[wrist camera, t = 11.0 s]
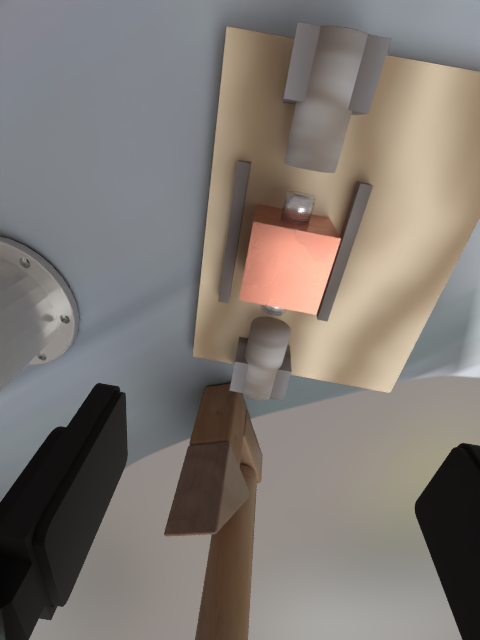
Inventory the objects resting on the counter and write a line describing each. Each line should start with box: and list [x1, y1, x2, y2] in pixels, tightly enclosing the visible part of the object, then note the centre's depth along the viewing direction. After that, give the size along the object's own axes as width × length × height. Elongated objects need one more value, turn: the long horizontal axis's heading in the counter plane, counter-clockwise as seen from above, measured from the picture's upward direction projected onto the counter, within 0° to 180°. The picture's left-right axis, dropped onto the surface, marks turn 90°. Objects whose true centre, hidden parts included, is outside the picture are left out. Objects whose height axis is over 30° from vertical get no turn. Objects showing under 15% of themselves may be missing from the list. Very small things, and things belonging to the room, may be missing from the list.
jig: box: [193, 22, 480, 400], centre depth 23 cm, size 18×23×5 cm
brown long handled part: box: [164, 383, 262, 640], centre depth 28 cm, size 4×11×18 cm, turn 14°
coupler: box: [239, 191, 341, 316], centre depth 22 cm, size 5×8×5 cm, turn 170°
